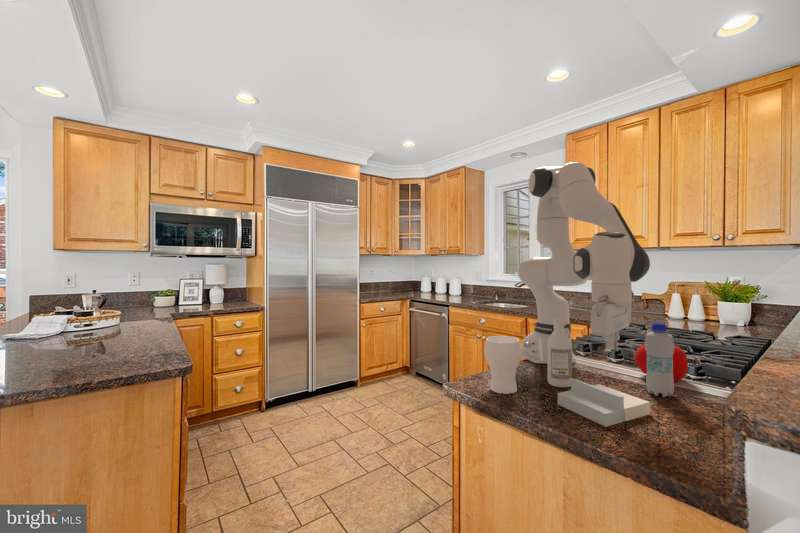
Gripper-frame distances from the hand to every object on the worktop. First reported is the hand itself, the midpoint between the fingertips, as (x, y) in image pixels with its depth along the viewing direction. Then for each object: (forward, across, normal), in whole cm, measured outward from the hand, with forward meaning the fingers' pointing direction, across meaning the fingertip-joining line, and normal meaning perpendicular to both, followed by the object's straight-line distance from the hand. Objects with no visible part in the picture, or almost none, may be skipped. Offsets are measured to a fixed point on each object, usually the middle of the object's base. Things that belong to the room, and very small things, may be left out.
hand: (611, 348), depth 91 cm
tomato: (+15, +34, -4) cm, 38 cm away
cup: (+15, -7, +27) cm, 32 cm away
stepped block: (+15, -7, +3) cm, 17 cm away
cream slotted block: (+15, 0, 0) cm, 15 cm away
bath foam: (+15, +8, +17) cm, 24 cm away
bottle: (+15, +18, -7) cm, 25 cm away
